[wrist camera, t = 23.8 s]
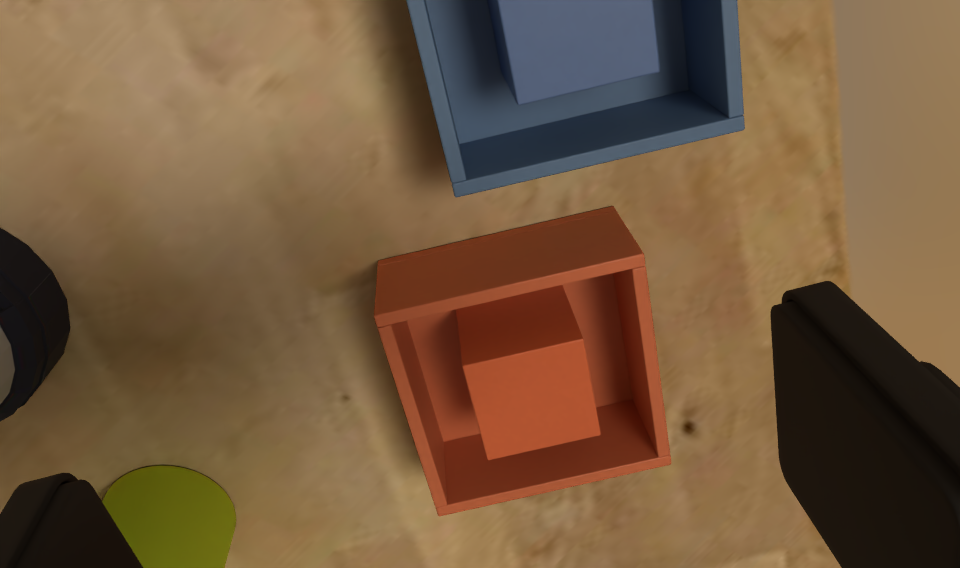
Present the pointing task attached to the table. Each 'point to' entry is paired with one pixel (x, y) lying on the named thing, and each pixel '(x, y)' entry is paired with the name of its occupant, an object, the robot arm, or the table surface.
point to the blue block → (572, 44)
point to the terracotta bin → (505, 273)
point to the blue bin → (575, 96)
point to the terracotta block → (527, 372)
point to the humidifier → (27, 323)
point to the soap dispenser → (173, 517)
